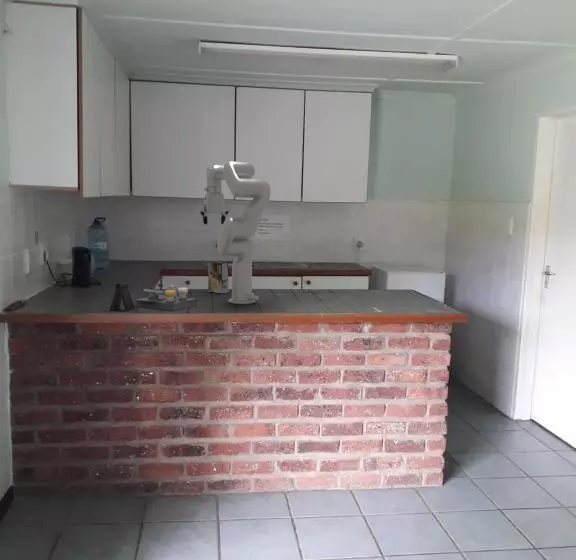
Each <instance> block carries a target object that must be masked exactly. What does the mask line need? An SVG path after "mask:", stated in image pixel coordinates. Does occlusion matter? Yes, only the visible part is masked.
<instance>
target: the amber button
mask: <svg viewBox="0 0 576 560" xmlns="http://www.w3.org/2000/svg"><path fill="white" fill-rule="evenodd" d="M164 295H165V296H166V302H167V303H173V302H174V296H175V290H167V289H166V290H164Z"/></svg>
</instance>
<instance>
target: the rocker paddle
mask: <svg viewBox="0 0 576 560" xmlns="http://www.w3.org/2000/svg"><path fill="white" fill-rule="evenodd" d="M143 292H147V293H148V295H149V294H153V295H159V294H164V290H156V289H148V288H144V289H143Z"/></svg>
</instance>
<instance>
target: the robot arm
mask: <svg viewBox="0 0 576 560" xmlns="http://www.w3.org/2000/svg"><path fill="white" fill-rule="evenodd" d="M255 172H256V169H255V167H254V166H253V164H252V163H250V162H247V161H235V160H234V161H233V160H230V161H226V163H224V164H213V165H208V166H206V187H204V189H203V190H204V191H205V192H206V193H205V195H204V201H203V202H204V203H203V205H201V206H199V207H197V208H198V211H199V214H200V215H201V217H202V222H203V224H204V225H208V216H207V215H208V214H209V213H211V214H220V215H221V217H220V225H222V227H221V229H220V234H219V237H218V241H217V246H216V250H217V253H218V254H219V256H221V257H225V258H226V257H229V258H230V257H235V258H234V259H233V261H232V264H231V298H229V299H228V303H229V304H230V303H231V304H234V305H235V304H236V305H248V304H249V305H250V304H254V303H256V301H258V300H259V295H255V293H254V292H253V255H254V251H255V241H254V240H253V238H252V237H254V236H255V235H256V233H257V231H258V227H259V225H260V222H261V218H262V216H263V213H264V211H265V209H266V208H267V206H268V204H269V202H270V199H271V187H270V186H271V185H270V184H269V183H268V181H266V180H264V179H259V178H253V177H254V176H255V174H256V173H255ZM223 181H225V183H226V185H227V187H228V189H229V191H230V193H231V195H232V196H233V197H235V198H238V199H239V198H240V199H242V198H244V199H246V198H247V199H248V198H249V199H250V198H252V199H251V200H249V202H248V203H247V204H246V205H245V207H243V212H242V214H241V215H240V216H230V217H227V216H228V214H229V212H230V210H231V208H230V206H227V205H226V203H225V202H226V200H225V196H224V193H222V191H223V190H222V189H223V187H222V182H223ZM226 217H227V218H226Z"/></svg>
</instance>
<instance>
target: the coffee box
mask: <svg viewBox="0 0 576 560" xmlns="http://www.w3.org/2000/svg"><path fill="white" fill-rule="evenodd" d="M207 270H208V271H207V275H208V276H207V277H208V279H207V280H208V281H207V283H208V286H207V287H208V288H207V289H208V293H209V292H215V293H225V294H228V293H227V292H229V262H226V261H225V262H224V261H222V262H221V261H210V262H207ZM215 293H214V294H215Z"/></svg>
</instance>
